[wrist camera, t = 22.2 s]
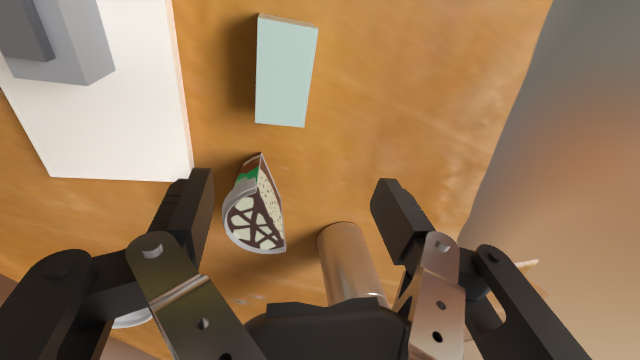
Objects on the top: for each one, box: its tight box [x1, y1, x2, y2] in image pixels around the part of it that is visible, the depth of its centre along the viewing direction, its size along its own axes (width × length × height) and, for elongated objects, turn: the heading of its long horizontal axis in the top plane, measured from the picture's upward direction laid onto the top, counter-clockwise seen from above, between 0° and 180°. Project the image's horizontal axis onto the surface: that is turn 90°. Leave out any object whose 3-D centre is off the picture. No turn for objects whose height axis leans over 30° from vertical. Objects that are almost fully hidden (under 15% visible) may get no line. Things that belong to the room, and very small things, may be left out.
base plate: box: [0, 0, 195, 182], centre depth 25 cm, size 24×16×7 cm, turn 170°
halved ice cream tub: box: [222, 152, 286, 254], centre depth 35 cm, size 12×6×10 cm, turn 12°
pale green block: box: [255, 13, 318, 127], centre depth 28 cm, size 10×6×5 cm, turn 170°
